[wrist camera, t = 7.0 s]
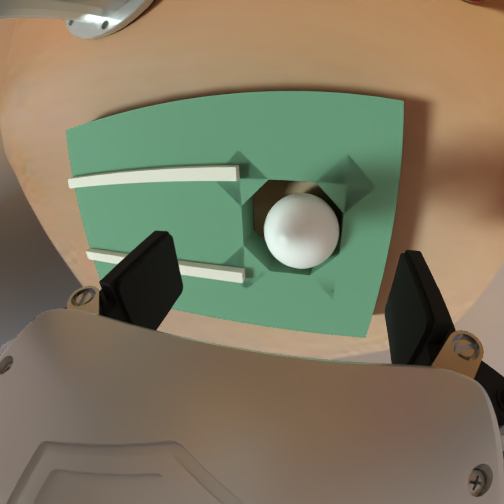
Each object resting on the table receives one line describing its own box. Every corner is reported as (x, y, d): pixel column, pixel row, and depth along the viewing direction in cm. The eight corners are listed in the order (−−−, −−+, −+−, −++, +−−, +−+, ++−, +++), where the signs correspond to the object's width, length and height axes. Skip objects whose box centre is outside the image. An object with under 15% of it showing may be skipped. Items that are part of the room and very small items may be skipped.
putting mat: (86, 125, 19) (60, 131, 16) (393, 102, 13) (406, 100, 10) (119, 279, 27) (101, 295, 24) (363, 316, 20) (365, 343, 18)
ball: (284, 225, 20) (244, 201, 17) (339, 200, 18) (307, 166, 14) (295, 284, 18) (253, 269, 15) (357, 261, 16) (328, 239, 12)
